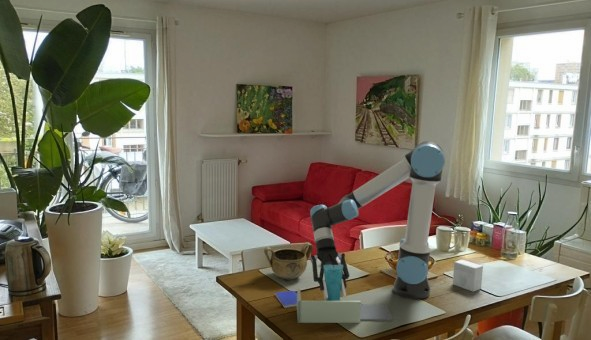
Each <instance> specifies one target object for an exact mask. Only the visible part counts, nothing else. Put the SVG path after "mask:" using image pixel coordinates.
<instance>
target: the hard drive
mask: <svg viewBox="0 0 591 340" xmlns="http://www.w3.org/2000/svg"><path fill="white" fill-rule="evenodd" d="M275 297H276V298H277V300H278V301H279V302H280V303H281V305H282V307H284V309H286V308H292V307H297V292H295V290H288V291H279V292H275ZM301 301H303V300H302V299H301Z"/></svg>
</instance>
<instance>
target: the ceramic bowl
mask: <svg viewBox="0 0 591 340" xmlns="http://www.w3.org/2000/svg"><path fill="white" fill-rule="evenodd" d="M313 248H314V246H313V244H311V242H309V241H308V242H305V243H304V244H303V246H302V247H301V250H300V249H296V248H280V249H279V248H278V249H276V250H273V249H272V248H271V247H269V246H267V247H265V248H264V251H263V252H264V255H265V258H266V259H267V262H268V264H269V266H270V268H271V270H272V272H273V274H275V276H276V277H278V278H280V279H283V280H294V279H297V278H300V277H301V276H302V275H303V274H304V273H305V271H306V269H307V268H308V267H307V265H308V260H309V257H310V256H311V255H312V254H311V253H312V251H313ZM268 251H270V252H271V255H270V257H269V253H268Z"/></svg>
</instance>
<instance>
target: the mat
mask: <svg viewBox="0 0 591 340" xmlns="http://www.w3.org/2000/svg"><path fill="white" fill-rule="evenodd" d="M393 320H394V319H393V317H392V314H391V312H390V311H389V308H388V306H387V305H386V304H361V313H360V322H361V321H362V322H363V321H365V322H366V321H367V322H368V321H369V322H373V321H375V322H376V321H377V322H380V321H381V322H382V321H385V322H387V321H388V322H390V321H393Z"/></svg>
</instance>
